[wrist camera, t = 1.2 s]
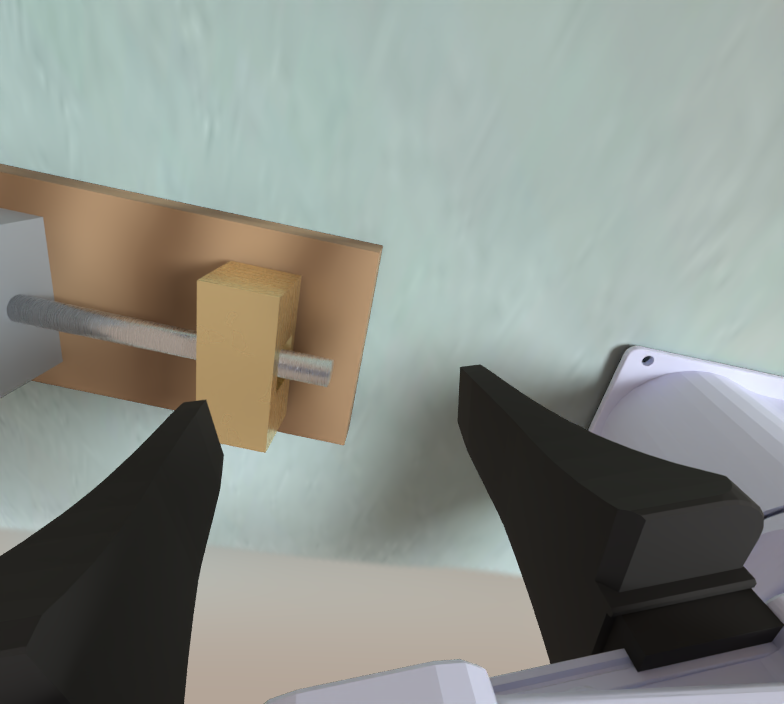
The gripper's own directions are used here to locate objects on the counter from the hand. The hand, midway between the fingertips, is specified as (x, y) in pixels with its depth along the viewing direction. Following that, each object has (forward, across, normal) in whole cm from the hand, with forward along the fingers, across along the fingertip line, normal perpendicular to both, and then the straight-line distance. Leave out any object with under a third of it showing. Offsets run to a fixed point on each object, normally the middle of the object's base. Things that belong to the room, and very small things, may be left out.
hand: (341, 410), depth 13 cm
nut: (+8, +3, +2) cm, 9 cm away
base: (+11, +7, +1) cm, 13 cm away
